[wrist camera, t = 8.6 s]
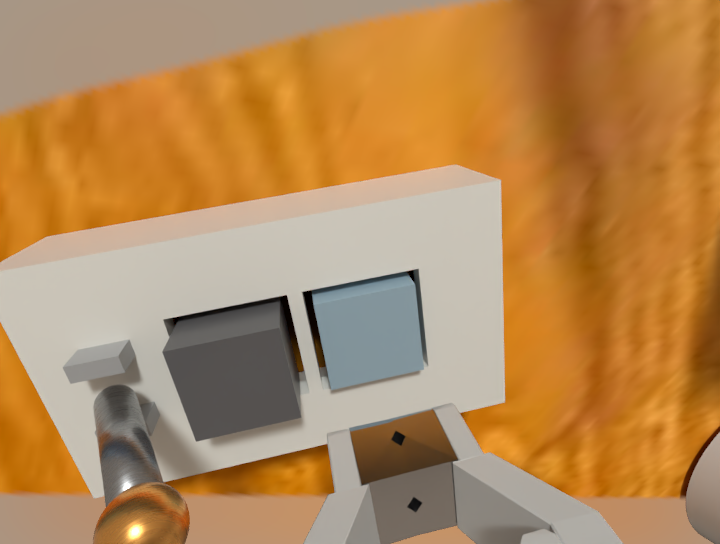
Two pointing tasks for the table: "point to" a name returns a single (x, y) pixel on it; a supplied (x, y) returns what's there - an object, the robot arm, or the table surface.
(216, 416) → the dark grey button
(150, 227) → the console
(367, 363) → the blue button
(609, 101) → the table surface
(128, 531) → the toggle lever
